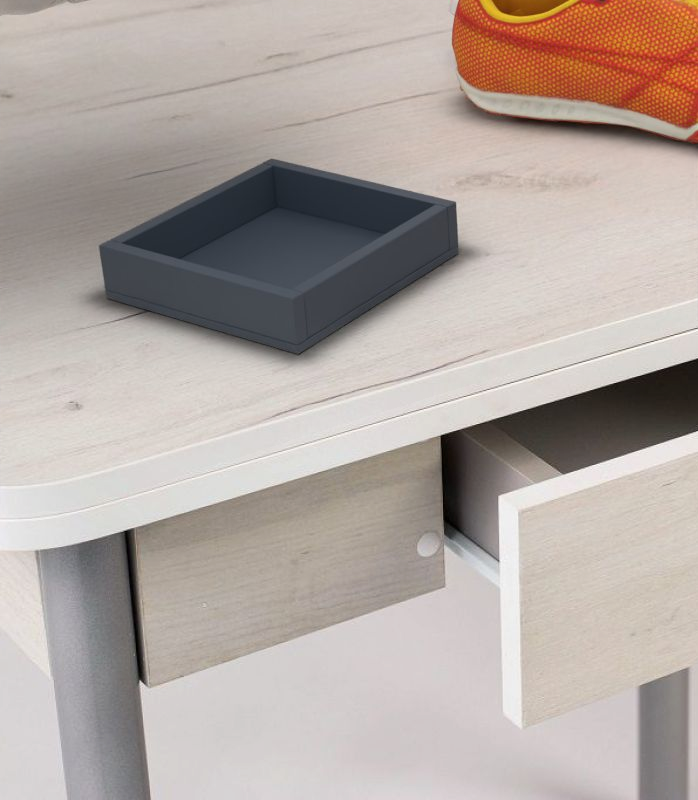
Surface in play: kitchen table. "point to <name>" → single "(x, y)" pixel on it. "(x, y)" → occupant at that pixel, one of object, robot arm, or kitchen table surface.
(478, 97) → the running shoe
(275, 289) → the tray
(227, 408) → the kitchen table surface
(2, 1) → the robot arm
